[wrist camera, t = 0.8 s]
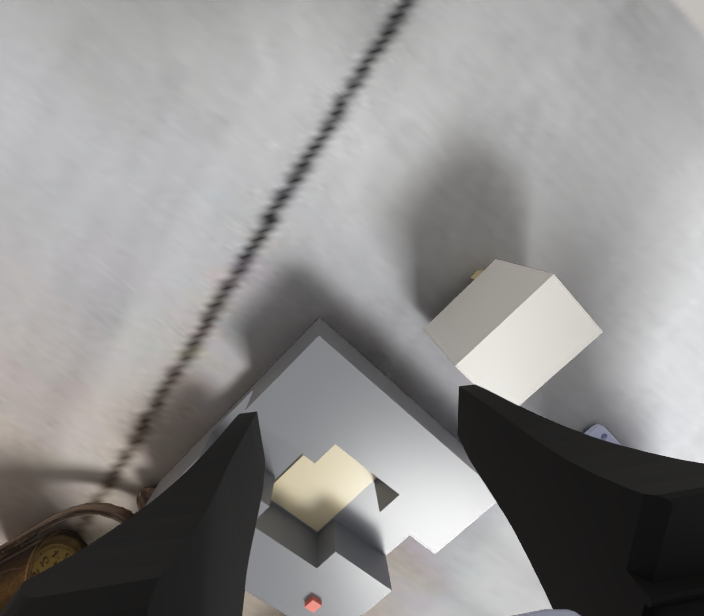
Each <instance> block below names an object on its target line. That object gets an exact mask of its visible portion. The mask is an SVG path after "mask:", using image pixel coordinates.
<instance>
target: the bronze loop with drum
mask: <svg viewBox="0 0 704 616" xmlns="http://www.w3.org/2000/svg"><path fill="white" fill-rule="evenodd" d="M154 490H155V487H147V488H143V489H142V490H140V492H139V494H138V496H137V506H138V509H139V510H141V509H142V508H143V507H144V506H145V505H146V503H147V502H148V500H149V498H150V497H151V495H152V493H153V492H154ZM87 514H88V515H101V516H104V517H108V518H111V519H114V520H116V521H118V522H120V523H123V522H124V521H126V520H127V519H129V518H130V517H131V516H133V515H134V514H133V513H132V512H131V511H129V510H127V509H125V508H123V507H119V506H115V505H113V504H109V503H86V504H82V505H78V506H75V507H71V508H69V509H67V510H64V511H62V512H59V513H57V514H55V515H53V516H51V517H49V518H48V519H46V520H44V521H43V522H41V523H39V524H38V525H36V526H34V527H33V528H31V529H29V530H27V531H26V532H24V533H22V534H20V535H18V536H17V537H15V538H13V539H11V540H10V541H8V542H6V543H4V544H3V545H1V546H0V613H1V611H2V610H3V609H4V607H5V606H6V605H7V603H8V602H9V601H10V599H11V598H12V596H13V595H14V594H15V592H16V591H17V590H18V589H19V587H20V586H21V585H22V583H23V582H24V581H26V580H28V579H30V578H32V577H34V576H36V575H37V574H39V573H41V572H43V571H45V570H46V569H48V568H50V567H52V566H53V565H55V564H57V563H59V562H61V561H62V560H64V559H66V558H68V557H69V556H71V555H73V554H75V553H76V552H78V551H80V550H81V549H83V548H85V547H86V546H88V545H87V544H86V543H85V542H84V540H83V539H82V538H81V537H79V536H78V535H77V534H75V533H71V532H67V531H63V530H62V531H56V532H52V533H50V534H48V535H46V536H44V537H42V538H40V539H39V540H37V541H35V542H33V543H32V544H30V545H28V546H26V547H25V548H23V549H21V550H19V549H18V548H17V547H18V546H19V545H21V544H23V543H24V542H26V541H28V540H29V539H31V538H33V537H34V536H36V535H38V534H40V533H41V532H43V531H45V530H46V529H48V528H50V527H52V526H53V525H55V524H57V523H59V522H61V521H63V520H66V519H68V518H71V517H75V516H81V515H87Z"/></svg>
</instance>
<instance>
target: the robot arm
mask: <svg viewBox="0 0 704 616" xmlns="http://www.w3.org/2000/svg"><path fill="white" fill-rule="evenodd" d="M602 434H603V435H602ZM601 435H602V436H601ZM458 437H459V439H460V441H461V443H462V445H463V448H464V450H465V452H466V454H467V456H468V458H469V460H470V461H471V463H472V465H473V466H474V468H475V469H476V471H477V473H478V474H479V476H480V477H481V479H482V480H483V482H484V484H485V485H486V487H487V488H488V490H489V491H490V493H491V494H492V496H493V497H494V499H495V500H496V502H497V504H498V505H499V507H500V508H501V510H502V511H503V513H504V514H505V516H506V518H507V519H508V521H509V523H510V524H511V526H512V528H513V530H514V531H515V533H516V535H517V537H518V539H519V541H520V543H521V545H522V547H523V549H524V551H525V553H526V555H527V556H528V558H529V560H530V562H531V564H532V566H533V568H534V571H535V573H536V575H537V577H538V579H539V581H540V583H541V585H542V587H543V589H544V591H545V593H546V595H547V597H548V599H549V602H550V604H551V606H552V608H553V609H544V610H539V611H534V612H529V613H524V614H519V615H513V616H704V464H703V463H697V462H691V461H685V460H680V459H675V458H670V457H666V456H661V455H657V454H652V453H648V452H644V451H640V450H636V449H632V448H628V447H625V446H622V445H621V444H620V443H619V442H618V441H617V440H616V439H615V438H614V437H613V435H612V434H611V433H610V432H609V431H608V430H607V429H606V428H605V427H604V426H602V425H601V424H595V425H593V426H592V427H591V428H590V429H588V430H587V431H586V432H585V433H581V432H578V431H576V430H573V429H570V428H567V427H565V426H562V425H560V424H558V423H555V422H553V421H551V420H548V419H546V418H544V417H542V416H539V415H537V414H535V413H533V412H531V411H529V410H527V409H524V408H522V407H520V406H518V405H516V404H514V403H512V402H510V401H508V400H506V399H505V398H503V397H501V396H499V395H497V394H495V393H493V392H491V391H489V390H487V389H485V388H482V387H480V386H478V385H467V386H459V403H458ZM264 472H265V456H264V450H263V444H262V438H261V432H260V426H259V420H258V413H257V411H256V412H248V413H240V414H238V415H237V417H236V418H235V419H234V420H233V421H232V422H231V423H230V425H229V426H228V427H227V428H226V429H225V430H224V432H223V433H222V434H221V435H220V436H219V437H218V439H217V440H216V441H215V442H214V443H213V444H212V445H211V446H210V447H209V449H208V450H207V451H206V452H205V453H204V454H203V455H202V456H201V457H200V458H199V459H198V460H197V461H196V462H195V463H194V464H193V465H192V466H191V467H190V468H189V469H188V470H187V471H186V472H185V473H184V474H183V475H182V476H181V477H180V478H179V479H178V480H176V481H175V482H174V483H173V484H172V485H171V486H170V487H168V488H167V489H166V490H165V491H164V492H162V493H161V494H160V495H159V496H158V497H156V498H155V499H154V500H153V501H151V502H150V503H149V504H147V505H146V506H145V507H143V508H142V509H141V510H139V511H138V512H137V513H135V514H134V515H133V516H131V517H130V518H129V519H127V520H126V521H124V522H123V523H122V524H120V525H119V526H117V527H116V528H114V529H113V530H111V531H110V532H108V533H107V534H105V535H104V536H102V537H100V538H99V539H97V540H96V541H94V542H93V543H91V544H89V545H88V546H86V547H85V548H83V549H81V550H80V551H78V552H76V553H75V554H73V555H71V556H69V557H68V558H66V559H64V560H62V561H61V562H59V563H57V564H55V565H53V566H52V567H50V568H48V569H46V570H45V571H43V572H41V573H39V574H37V575H36V576H34V577H32V578H30V579H28V580H26V581H24V582H23V583H22V585H21V586H20V587H19V589H18V590H17V591H16V592H15V594H14V595H13V596H12V598H11V599H10V601H9V602H8V603H7V605H6V606H5V607H4V609H3V610H2V611H1V613H0V616H242V611H243V602H244V593H245V584H246V575H247V568H248V562H249V556H250V552H251V547H252V542H253V537H254V532H255V527H256V522H257V517H258V513H259V508H260V503H261V498H262V492H263V484H264Z"/></svg>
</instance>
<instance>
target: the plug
mask: <svg viewBox="0 0 704 616" xmlns="http://www.w3.org/2000/svg"><path fill="white" fill-rule="evenodd" d="M470 278H471V279H472V280H473V281H472V282H471V283H470V284H469V285H468V286H467V287H466V288H465V289H464V290H463V291H462V292H461V293H460V294H459V295H458V296H457V297H456V298H455V299H454V300H453V301H452V302H451V303H450V304H449V305H448V306H447V307H446V308H444V309H443V310H442V311H441V312H440V313H439V314H438V315H437V316H436V317H435V318H434V319H433V320H432V321H431V322H430V323H429V324H428V325H427V326H426V327H425V328H424V329H423V330H424V331H425V332H426V333H427V334H428V335H429V336H430V338H431V339H432V340H433V341H434V342H435V343H436V345H437V346H438V347H439V348H440V349H441V350H442V351H443V353H444V354H445V355H446V356H447V357H448V358H449V360H450V361H451V362H452V363H453V364H454V365H455V366H456V367H457V368H458V369H459V370H460V371H461V372H462V373H463V374H464V375H465V376H466V377H467V378H468V379H469V380H470V381H471V382H472V383H473V384H474V385H478V386H480V387H482V388H485V389H487V390H489V391H491V392H493V393H495V394H497V395H499V396H501V397H503V398H505V399H506V400H508V401H510V402H512V403H514V404H516V405H518V406H520V405H521V404H522V403H523V402H524V401H525V400H526V399H528V398H529V397H530V396H531V395H532V394H533V393H534V392H535V391H537V390H538V389H539V388H540V387H541V386H542V385H543V384H545V383H546V382H547V381H548V380H549V379H550V378H551V377H552V376H554V375H555V374H556V373H557V372H558V371H559V370H560V369H562V368H563V367H564V366H565V365H566V364H567V363H568V362H570V361H571V360H572V359H573V358H574V357H575V356H576V355H577V354H579V353H580V352H581V351H582V350H583V349H584V348H585V347H587V346H588V345H589V344H590V343H591V342H592V341H593V340H594V339H596V338H597V337H598V336H599V335H600V334H601V333H602V332H603V331H602V330H601V329H600V328H599V326H598V325H597V324H596V323H595V322H594V321H593V319H592V318H591V317H590V316H589V315H588V313H587V312H586V311H585V310H584V309H583V308H582V306H581V305H580V304H579V303H578V302H577V301H576V299H575V298H574V297H573V296H572V295H571V293H570V292H569V291H568V290H567V289H566V288H565V286H564V285H563V284H562V283H561V282H560V280H559V279H558V278H557V277H556V276H555V275H554V274H552V273H548V272H544V271H540V270H537V269H533V268H529V267H525V266H521V265H517V264H513V263H510V262H506V261H502V260H498V259H495V260H494V261H493V262H492V263H491V264H490V265H489V266H488V267H487V268H486V269H485V270H484V271H481V270H478V271H476V272H475V273H474V274H473V275H472V276H471V277H470Z"/></svg>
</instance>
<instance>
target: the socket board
mask: <svg viewBox="0 0 704 616" xmlns="http://www.w3.org/2000/svg"><path fill="white" fill-rule="evenodd" d="M256 411H257V413H258V420H259V426H260V432H261V438H262V444H263V450H264V456H265V472H264V484H263V492H262V498H261V503H260V508H259V513H258V517H257V522H256V527H255V532H254V537H253V542H252V547H251V552H250V556H249V562H248V568H247V575H246V584H245V591H247V592H249V593H250V594H252V595H253V596H255V597H257V598H258V599H260V600H262V601H263V602H265V603H267V604H268V605H270V606H272V607H273V608H275V609H277V610H278V611H280V612H282V613H283V614H285V615H287V616H362V615H363V614H365V613H366V612H367V611H368V610H369V609H371V608H372V607H373V606H374V605H375V604H376V603H378V602H379V601H380V600H381V599H382V598H384V597H385V596H386V595H387V594H388V593H390V592H391V591H392V589H391V583H390V578H389V572H388V566H387V561H386V555H387V554H388V553H390V552H391V551H392V550H393V549H394V548H395V547H396V546H398V545H399V544H400V543H401V542H402V541H403V540H405V539H406V538H407V537H408V536H409V535H410V536H411V537H413V538H414V539H415V540H417V541H418V542H419V543H421V544H422V545H423V546H425V547H426V548H427V549H429V550H430V551H431V552H433V553H434V554H436V553H437V552H438V551H439V550H441V549H442V548H443V547H444V546H445V545H446V544H448V543H449V542H450V541H451V540H452V539H454V538H455V537H456V536H457V535H458V534H460V533H461V532H462V531H463V530H464V529H465V528H467V527H468V526H469V525H470V524H471V523H473V522H474V521H475V520H476V519H477V518H478V517H480V516H481V515H482V514H483V513H484V512H486V511H487V510H488V509H489V508H490V507H492V506H493V505H494V504H495V503H496V500H495V499H494V497H493V496H492V494H491V493H490V491H489V490H488V488H487V487H486V485H485V484H484V482H483V480H482V479H481V477H480V476H479V474H478V473H477V471H476V469H475V468H474V466H473V465H472V463H471V461H470V460H469V458H468V456H467V454H466V452H465V450H464V448H463V445H462V443H461V442H459V441H458V440H457V439H456V438H455V437H454V436H453V435H452V434H450V433H449V432H448V431H447V430H446V429H445V428H444V427H443V426H441V425H440V424H439V423H438V422H437V421H436V420H435V419H434V418H432V417H431V416H430V415H429V414H428V413H427V412H426V411H425V410H423V409H422V408H421V407H420V406H419V405H418V404H417V403H416V402H414V401H413V400H412V399H411V398H410V397H409V396H408V395H407V394H405V393H404V392H403V391H402V390H401V389H400V388H399V387H398V386H397V385H395V384H394V383H393V382H392V381H391V380H390V379H389V378H388V377H386V376H385V375H384V374H383V373H382V372H381V371H380V370H379V369H377V368H376V367H375V366H374V365H373V364H372V363H371V362H370V361H368V360H367V359H366V358H365V357H364V356H363V355H362V354H361V353H359V352H358V351H357V350H356V349H355V348H354V347H353V346H352V345H350V344H349V343H348V342H347V341H346V340H345V339H344V338H343V337H341V336H340V335H339V334H338V333H337V332H336V331H335V330H334V329H332V328H331V327H330V326H329V325H328V324H327V323H326V322H325V321H324V320H322V319H321V318H320V317H319V318H318V319H317V320H316V321H315V322H314V323H313V324H312V325H311V326H310V327H309V329H308V330H307V331H306V332H305V333H304V334H303V335H302V336H301V337H300V338H299V339H298V340H297V341H296V342H295V343H294V344H293V345H292V346H291V347H290V348H289V349H288V350H287V351H286V352H285V353H284V354H283V355H282V356H281V357H280V358H279V359H278V360H277V361H276V362H275V363H274V364H273V365H272V366H271V368H270V369H269V370H268V371H267V372H266V373H265V374H264V375H263V376H262V377H261V378H260V379H259V380H258V381H257V382H256V383H255V384H254V385H253V386H252V387H251V388H250V389H249V390H248V391H247V392H246V393H245V394H244V395H243V396H242V397H241V398H240V399H239V400H238V401H237V402H236V403H235V404H234V405H233V406H232V408H231V409H230V410H229V411H228V412H227V413H226V414H225V415H224V416H223V417H222V418H221V419H220V420H219V421H218V422H217V423H216V424H215V425H214V426H213V427H212V428H211V429H210V430H209V431H208V432H207V433H206V434H205V435H204V436H203V437H202V438H201V439H200V440H199V441H198V442H197V443H196V444H195V445H194V447H193V448H192V449H191V450H190V451H189V452H188V453H187V454H186V455H185V456H184V457H183V458H182V459H181V460H180V461H179V462H178V463H177V464H176V465H175V466H174V467H173V468H172V469H171V470H170V471H169V472H168V473H167V474H166V475H165V476H164V477H163V478H162V479H161V480H160V482H159V484H158V485H157V487H156V488H155V490H154V492H153V493H152V495H151V497H150V498H149V500H148V502H147V503H146V505H147V504H149V503H150V502H151V501H153V500H154V499H155V498H156V497H158V496H159V495H160V494H161V493H162V492H164V491H165V490H166V489H167V488H168V487H170V486H171V485H172V484H173V483H174V482H175V481H176V480H178V479H179V478H180V477H181V476H182V475H183V474H184V473H185V472H186V471H187V470H188V469H189V468H190V467H191V466H192V465H193V464H194V463H195V462H196V461H197V460H198V459H199V458H200V457H201V456H202V455H203V454H204V453H205V452H206V451H207V450H208V449H209V447H210V446H211V445H212V444H213V443H214V442H215V441H216V440H217V439H218V437H219V436H220V435H221V434H222V433H223V432H224V430H225V429H226V428H227V427H228V426H229V425H230V423H231V422H232V421H233V420H234V419H235V418H236V417H237V415H238V414H240V413H248V412H256ZM146 505H145V506H146ZM145 506H144V507H145Z"/></svg>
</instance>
